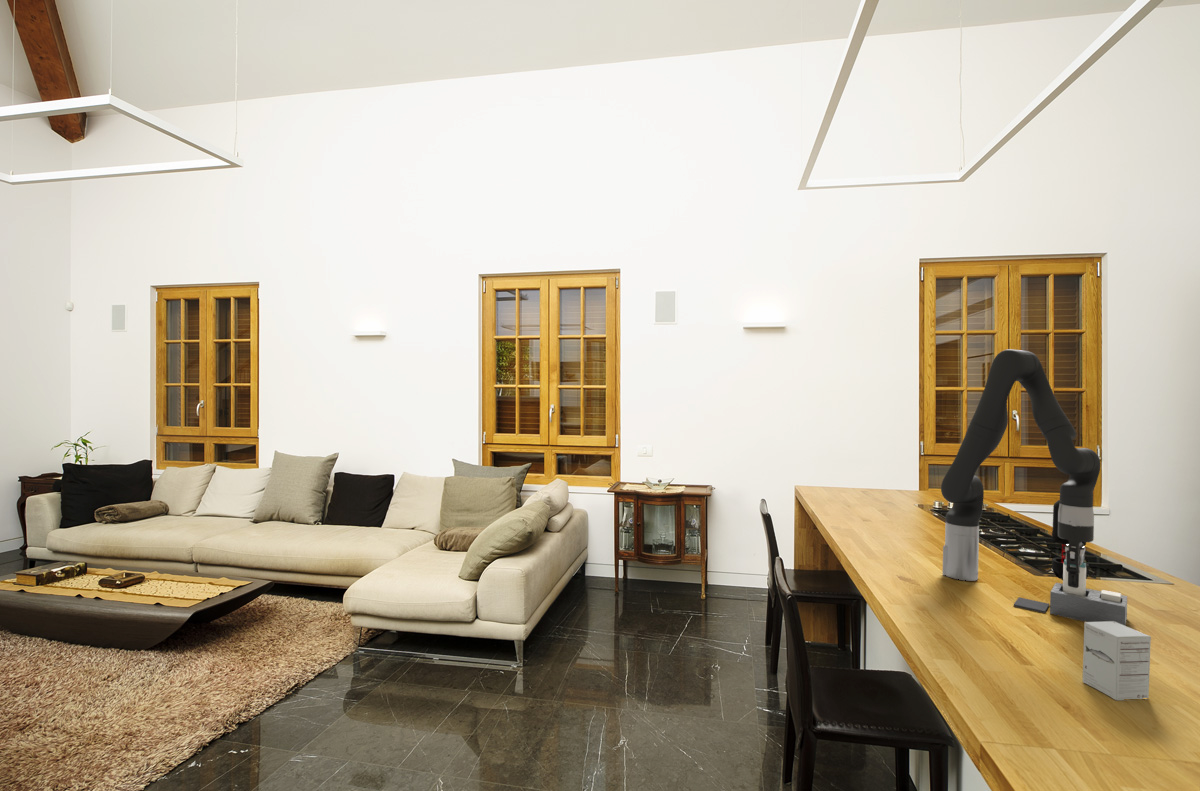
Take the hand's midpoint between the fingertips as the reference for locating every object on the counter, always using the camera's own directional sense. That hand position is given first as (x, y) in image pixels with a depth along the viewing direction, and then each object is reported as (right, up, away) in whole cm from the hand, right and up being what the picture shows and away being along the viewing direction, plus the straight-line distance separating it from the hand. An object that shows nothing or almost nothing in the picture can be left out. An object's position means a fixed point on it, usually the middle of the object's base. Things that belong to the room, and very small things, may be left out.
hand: (1074, 584), depth 157 cm
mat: (-8, -8, +5) cm, 12 cm away
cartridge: (0, -8, 0) cm, 8 cm away
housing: (+2, -8, -2) cm, 8 cm away
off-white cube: (+5, -6, -5) cm, 9 cm away
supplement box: (-26, -8, -41) cm, 49 cm away
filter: (+18, -8, +24) cm, 31 cm away
